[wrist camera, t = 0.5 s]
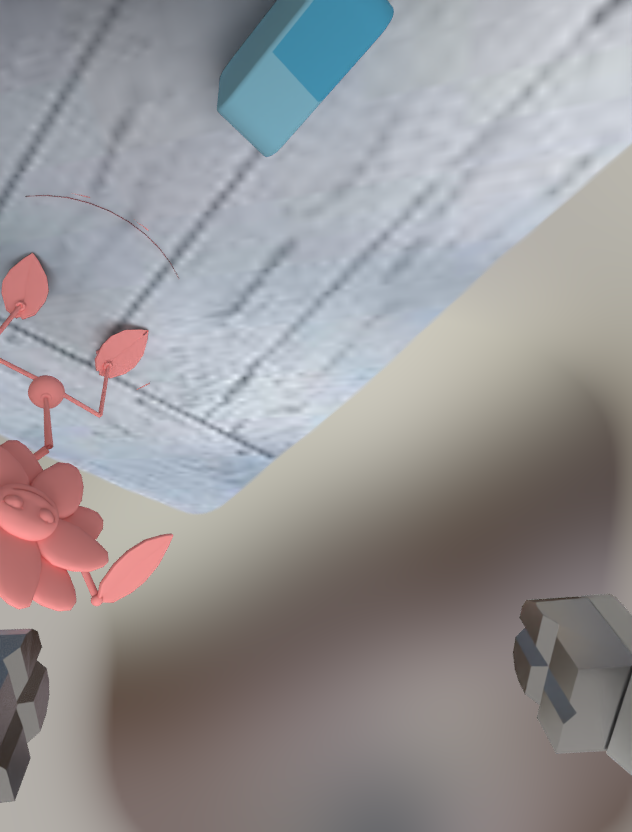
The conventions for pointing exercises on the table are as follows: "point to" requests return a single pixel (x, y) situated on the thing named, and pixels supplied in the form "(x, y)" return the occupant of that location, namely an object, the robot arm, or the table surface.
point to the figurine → (59, 483)
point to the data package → (295, 64)
